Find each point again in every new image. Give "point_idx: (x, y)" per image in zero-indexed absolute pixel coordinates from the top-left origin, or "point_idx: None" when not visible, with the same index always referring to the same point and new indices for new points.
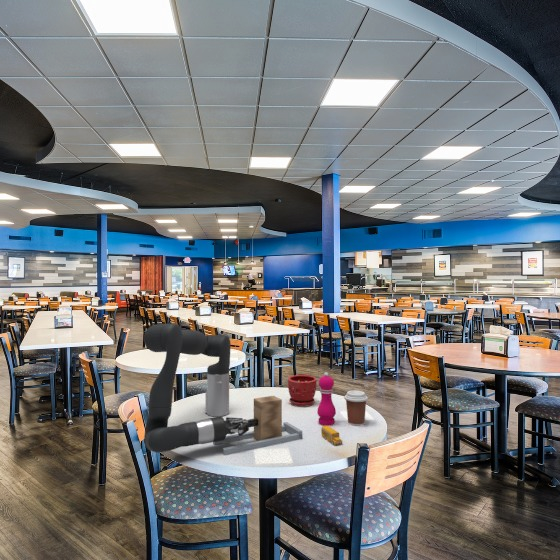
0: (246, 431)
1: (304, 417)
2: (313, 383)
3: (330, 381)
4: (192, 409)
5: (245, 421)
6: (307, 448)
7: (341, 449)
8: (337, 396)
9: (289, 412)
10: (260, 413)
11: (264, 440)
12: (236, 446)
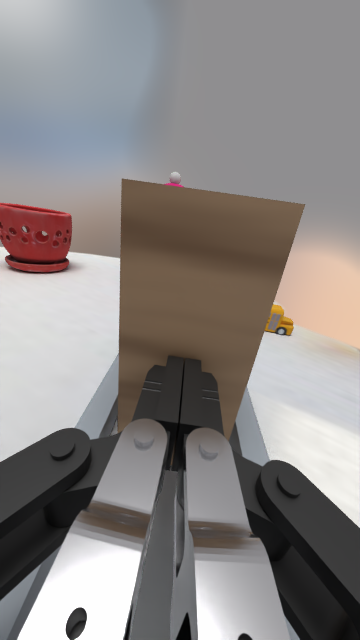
0: (326, 588)
1: (102, 292)
2: (71, 220)
3: None
4: None
5: (214, 467)
6: (298, 372)
7: (313, 339)
8: (79, 253)
9: (46, 288)
10: (256, 309)
11: (251, 450)
12: None
